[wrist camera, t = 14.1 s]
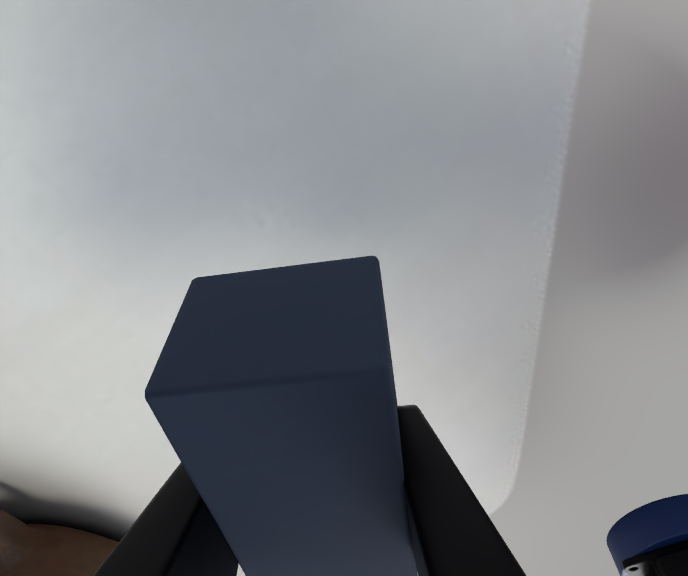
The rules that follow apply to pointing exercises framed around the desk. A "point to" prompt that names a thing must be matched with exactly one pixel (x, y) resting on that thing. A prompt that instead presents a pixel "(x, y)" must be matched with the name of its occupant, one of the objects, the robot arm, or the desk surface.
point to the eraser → (290, 417)
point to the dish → (49, 549)
